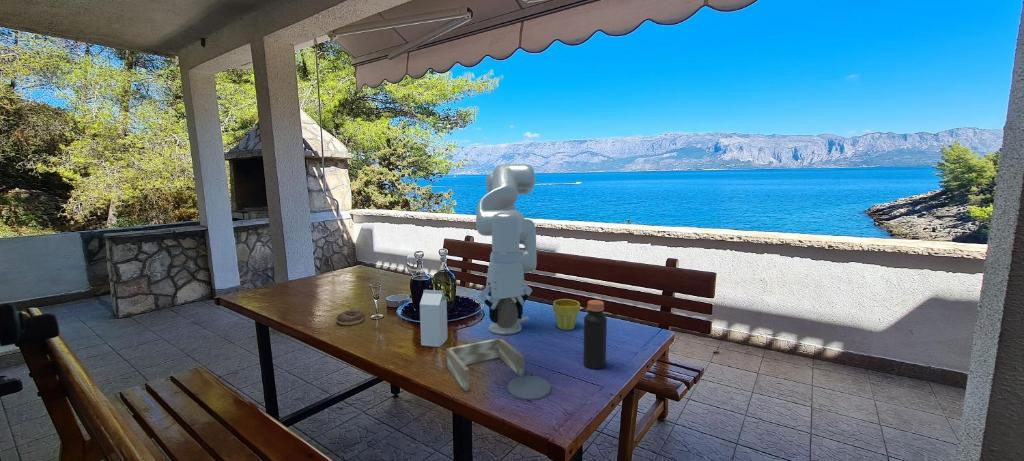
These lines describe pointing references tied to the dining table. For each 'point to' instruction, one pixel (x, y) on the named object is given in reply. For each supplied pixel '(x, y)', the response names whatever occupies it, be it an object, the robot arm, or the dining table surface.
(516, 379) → the mat
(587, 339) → the bottle
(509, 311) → the vase
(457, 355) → the holder
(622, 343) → the dining table surface
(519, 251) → the robot arm
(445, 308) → the milk carton
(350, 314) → the donut
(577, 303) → the plant pot
